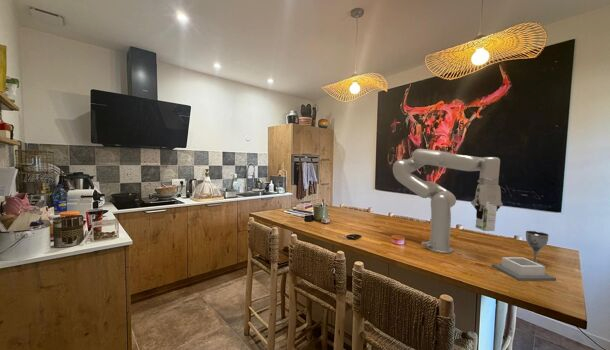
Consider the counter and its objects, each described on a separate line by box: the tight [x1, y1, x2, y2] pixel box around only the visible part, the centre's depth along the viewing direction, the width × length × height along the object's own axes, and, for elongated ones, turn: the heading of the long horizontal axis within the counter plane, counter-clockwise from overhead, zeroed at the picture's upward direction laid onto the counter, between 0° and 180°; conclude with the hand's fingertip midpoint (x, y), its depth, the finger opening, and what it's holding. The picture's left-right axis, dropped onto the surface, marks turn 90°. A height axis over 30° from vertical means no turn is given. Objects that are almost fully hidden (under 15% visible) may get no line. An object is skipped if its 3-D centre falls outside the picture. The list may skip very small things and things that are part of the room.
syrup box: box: [475, 202, 497, 232], centre depth 122 cm, size 6×6×14 cm
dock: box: [491, 256, 557, 281], centre depth 109 cm, size 16×14×5 cm
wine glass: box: [525, 230, 549, 267], centre depth 119 cm, size 8×8×15 cm
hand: (485, 218), depth 122 cm, fingers closed on syrup box, 5 cm apart
